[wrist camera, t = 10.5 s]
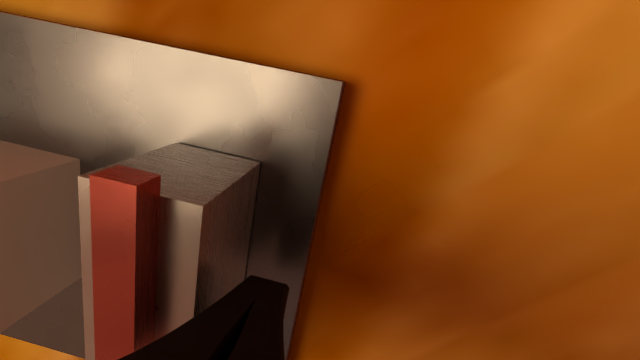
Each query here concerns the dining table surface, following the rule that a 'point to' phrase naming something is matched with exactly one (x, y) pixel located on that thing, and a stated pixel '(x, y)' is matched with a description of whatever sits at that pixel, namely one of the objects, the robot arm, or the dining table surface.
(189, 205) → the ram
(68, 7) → the dining table surface
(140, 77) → the press
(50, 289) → the block
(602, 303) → the dining table surface
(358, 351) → the dining table surface
